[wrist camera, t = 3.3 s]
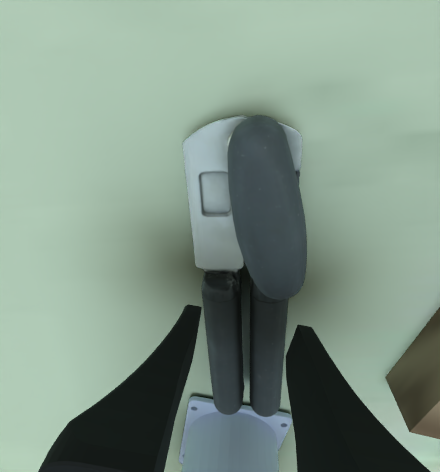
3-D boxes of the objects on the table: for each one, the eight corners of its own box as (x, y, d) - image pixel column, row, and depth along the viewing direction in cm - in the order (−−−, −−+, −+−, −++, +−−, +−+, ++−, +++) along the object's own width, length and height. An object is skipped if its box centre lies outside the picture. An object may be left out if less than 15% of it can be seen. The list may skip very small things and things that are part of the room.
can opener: (187, 108, 14) (145, 131, 8) (299, 102, 14) (333, 123, 8) (212, 380, 23) (201, 478, 17) (281, 382, 22) (291, 485, 17)
